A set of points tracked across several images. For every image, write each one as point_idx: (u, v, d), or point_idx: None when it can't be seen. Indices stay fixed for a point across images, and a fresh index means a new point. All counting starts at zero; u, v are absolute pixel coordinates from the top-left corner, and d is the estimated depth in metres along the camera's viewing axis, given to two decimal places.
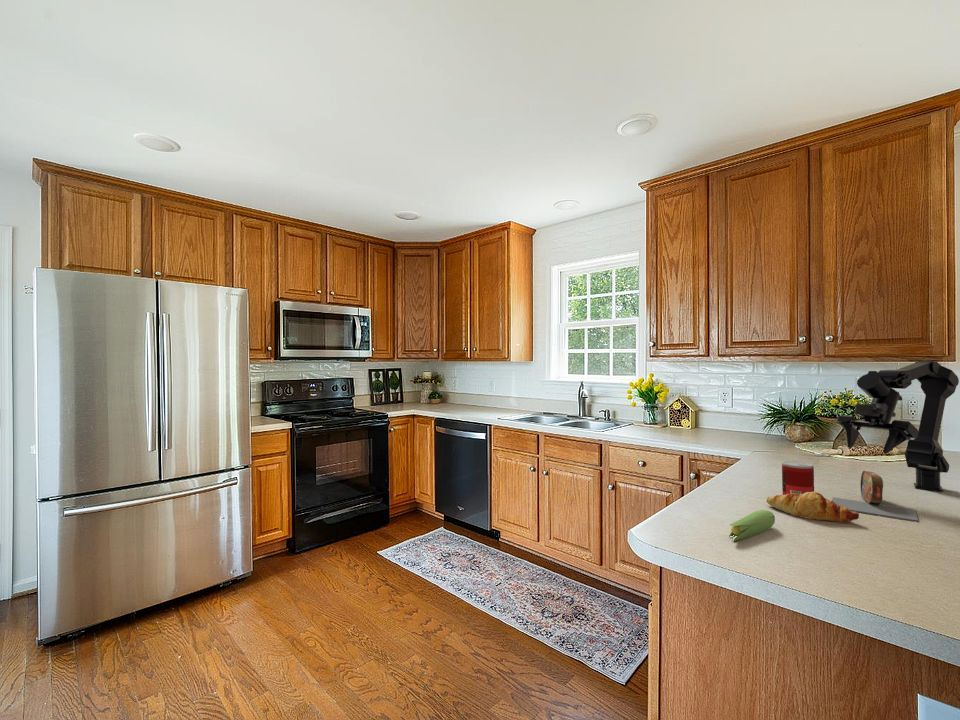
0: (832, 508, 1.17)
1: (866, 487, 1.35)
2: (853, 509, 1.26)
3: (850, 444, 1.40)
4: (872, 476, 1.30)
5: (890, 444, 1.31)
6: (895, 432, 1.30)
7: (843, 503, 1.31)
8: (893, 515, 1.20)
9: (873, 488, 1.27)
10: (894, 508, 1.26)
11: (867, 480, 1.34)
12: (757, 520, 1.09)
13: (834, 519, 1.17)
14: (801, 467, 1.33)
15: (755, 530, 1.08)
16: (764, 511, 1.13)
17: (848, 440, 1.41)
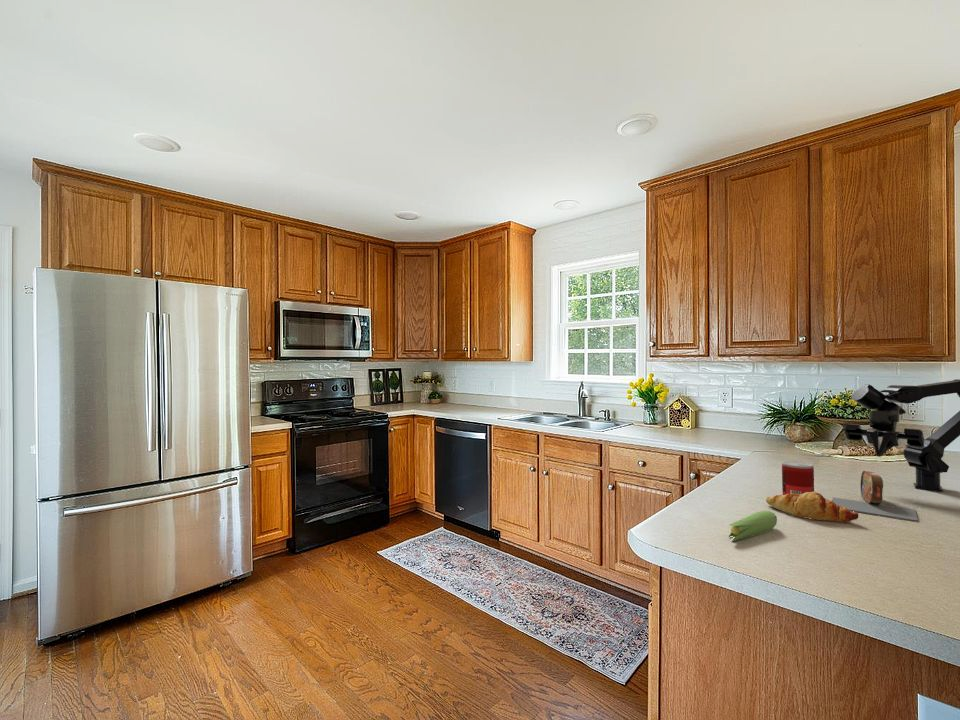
0: (832, 509, 1.17)
1: (866, 487, 1.35)
2: (853, 509, 1.26)
3: (878, 452, 1.40)
4: (872, 476, 1.30)
5: (884, 448, 1.40)
6: (889, 437, 1.40)
7: (843, 503, 1.31)
8: (893, 515, 1.20)
9: (873, 488, 1.27)
10: (894, 508, 1.26)
11: (867, 480, 1.34)
12: (758, 521, 1.09)
13: (833, 519, 1.17)
14: (801, 467, 1.33)
15: (755, 530, 1.08)
16: (766, 512, 1.12)
17: (876, 448, 1.41)
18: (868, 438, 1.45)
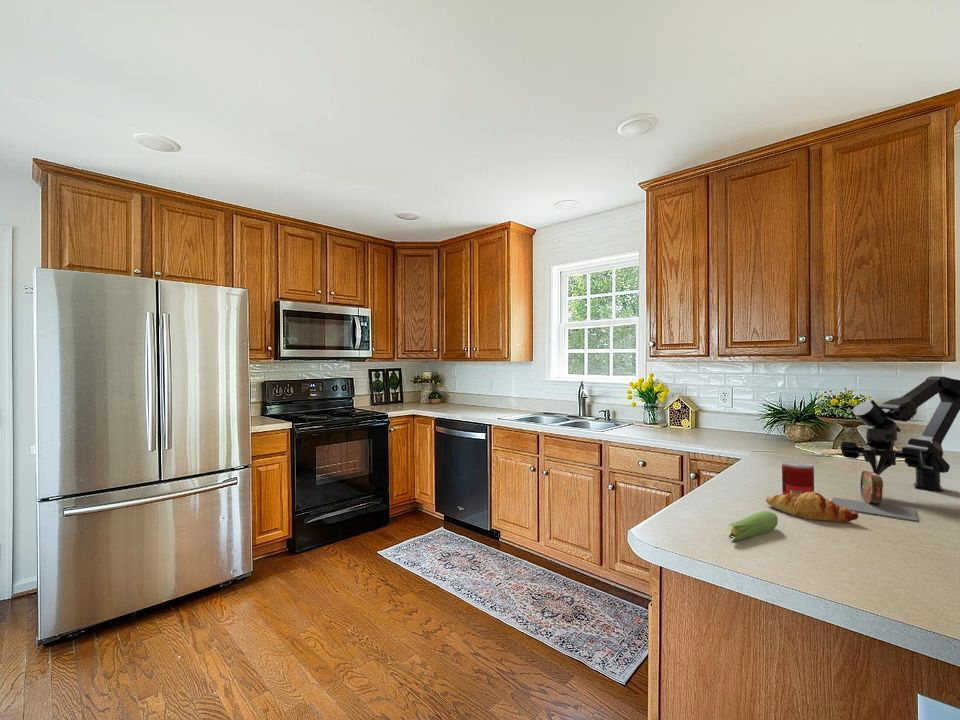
0: (832, 509, 1.17)
1: (866, 487, 1.35)
2: (853, 509, 1.26)
3: None
4: (872, 476, 1.30)
5: (882, 467, 1.36)
6: (887, 455, 1.36)
7: (843, 503, 1.31)
8: (893, 515, 1.20)
9: (873, 488, 1.27)
10: (894, 508, 1.26)
11: (867, 480, 1.34)
12: (758, 521, 1.09)
13: (833, 519, 1.17)
14: (801, 467, 1.33)
15: (756, 531, 1.08)
16: (766, 512, 1.12)
17: (873, 467, 1.37)
18: (865, 456, 1.42)
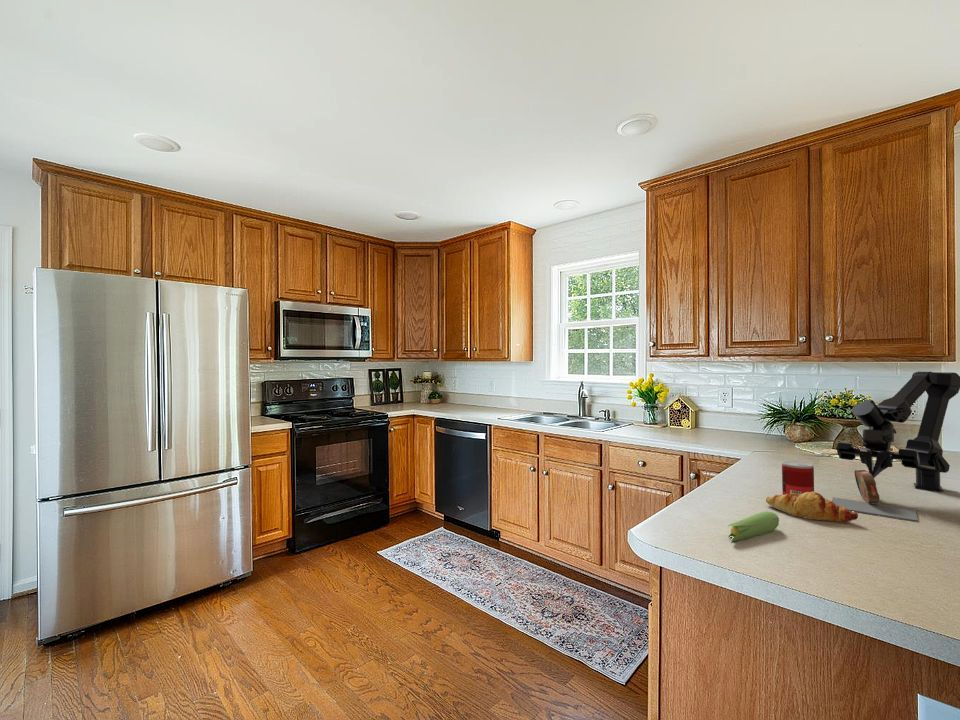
0: (831, 509, 1.17)
1: (862, 486, 1.35)
2: (853, 509, 1.26)
3: (872, 473, 1.34)
4: (863, 475, 1.31)
5: (878, 469, 1.34)
6: (883, 457, 1.33)
7: (843, 503, 1.31)
8: (893, 515, 1.20)
9: (867, 487, 1.28)
10: (894, 508, 1.26)
11: (860, 479, 1.35)
12: (758, 521, 1.08)
13: (833, 519, 1.17)
14: (801, 467, 1.33)
15: (756, 531, 1.07)
16: (767, 513, 1.12)
17: (869, 469, 1.34)
18: (861, 458, 1.39)
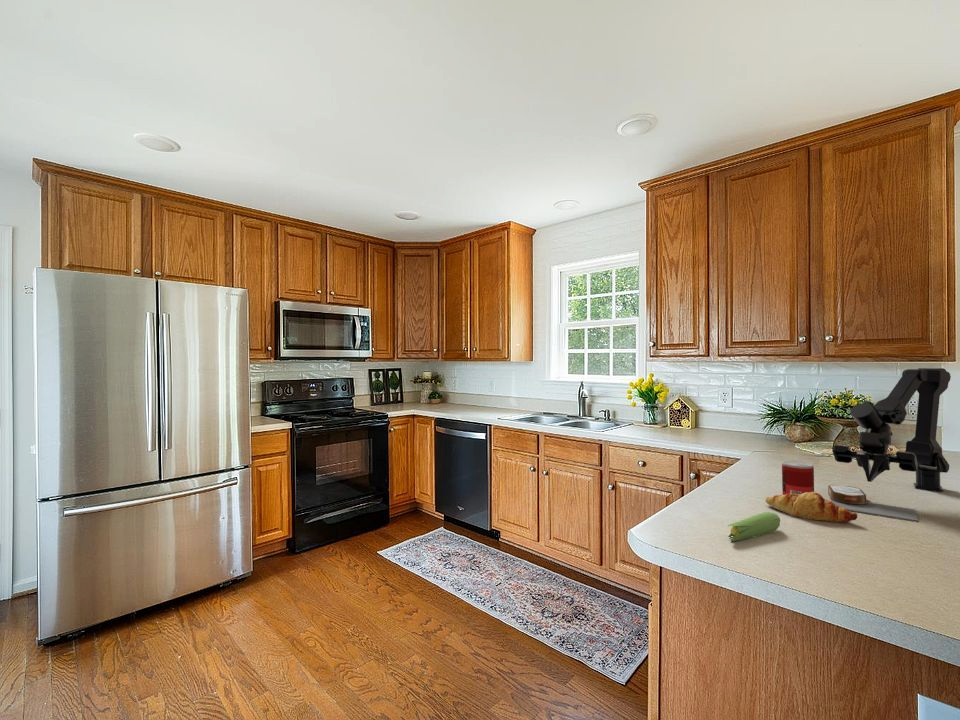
0: (831, 509, 1.17)
1: None
2: (853, 509, 1.26)
3: None
4: (832, 498, 1.34)
5: (875, 472, 1.31)
6: (880, 460, 1.30)
7: (843, 503, 1.31)
8: (893, 515, 1.20)
9: (847, 502, 1.30)
10: (894, 508, 1.26)
11: None
12: (759, 522, 1.08)
13: (832, 519, 1.17)
14: (801, 467, 1.33)
15: (756, 532, 1.07)
16: (768, 513, 1.11)
17: (866, 472, 1.31)
18: (858, 461, 1.36)
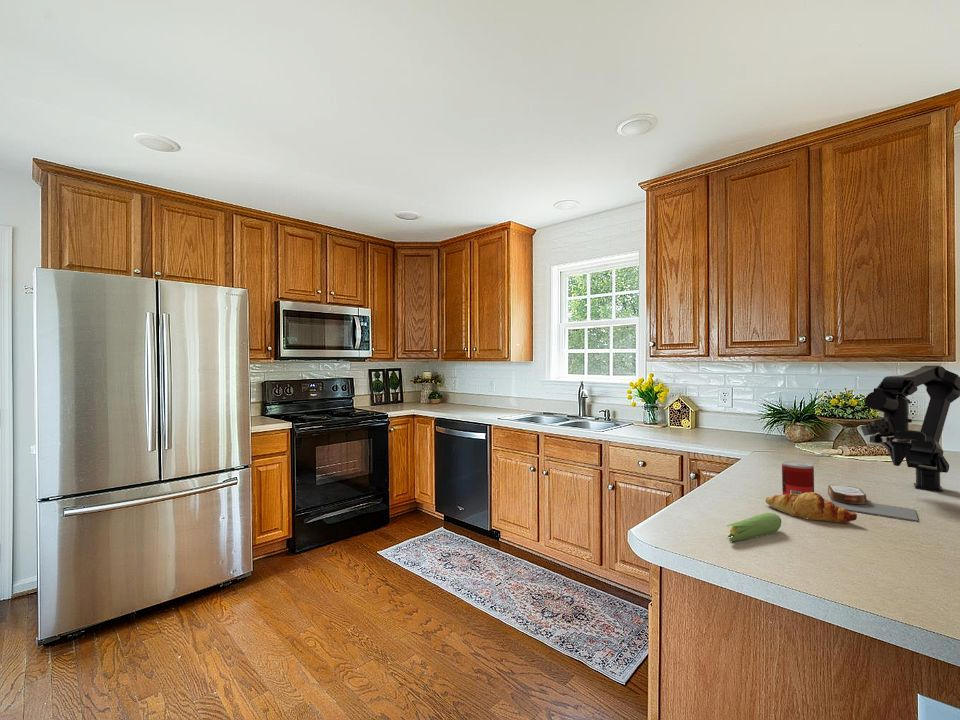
0: (830, 509, 1.17)
1: None
2: (853, 509, 1.26)
3: None
4: (832, 498, 1.34)
5: (896, 456, 1.37)
6: (891, 444, 1.37)
7: (843, 503, 1.31)
8: (893, 515, 1.20)
9: (847, 502, 1.30)
10: (894, 508, 1.26)
11: None
12: (759, 522, 1.08)
13: (832, 520, 1.17)
14: (801, 467, 1.33)
15: (756, 532, 1.07)
16: (769, 514, 1.11)
17: (891, 458, 1.39)
18: None
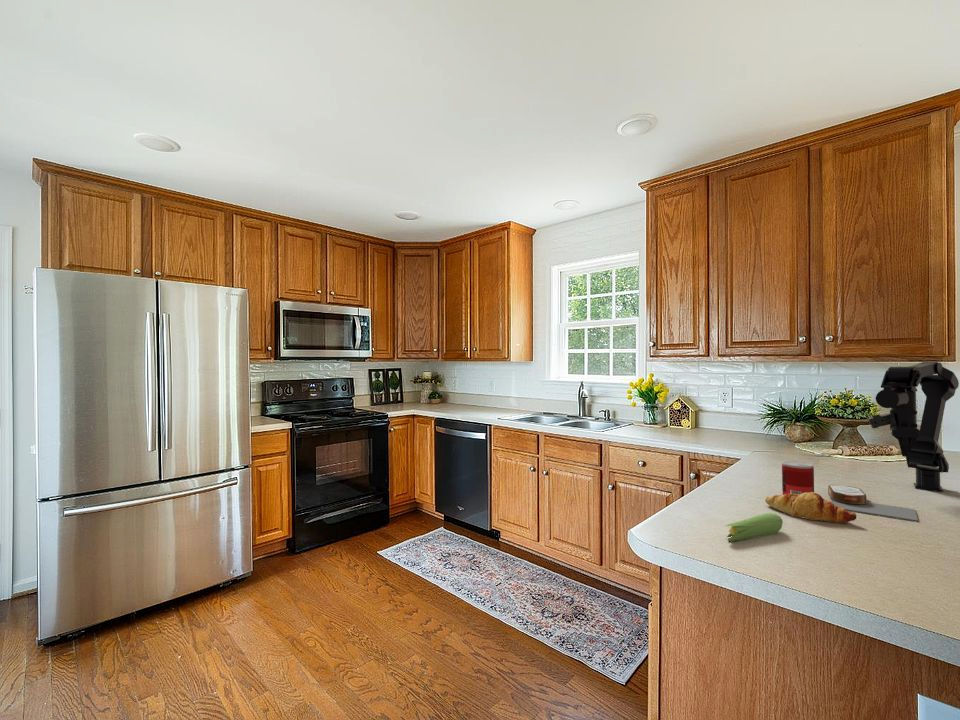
0: (829, 509, 1.17)
1: None
2: (853, 509, 1.26)
3: None
4: (832, 498, 1.34)
5: (902, 447, 1.39)
6: (895, 437, 1.40)
7: (843, 503, 1.31)
8: (893, 515, 1.20)
9: (847, 502, 1.30)
10: (894, 508, 1.26)
11: None
12: (759, 522, 1.08)
13: (831, 520, 1.17)
14: (801, 467, 1.33)
15: (755, 532, 1.07)
16: (770, 514, 1.10)
17: None
18: None
